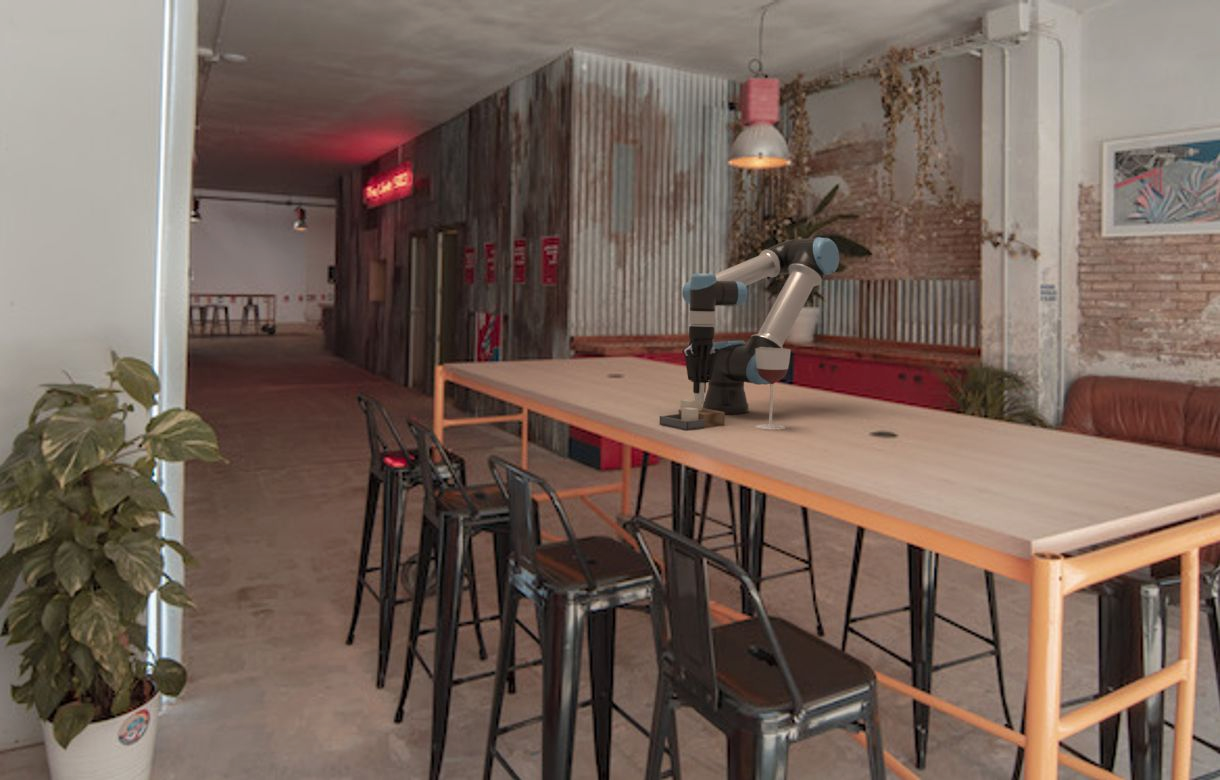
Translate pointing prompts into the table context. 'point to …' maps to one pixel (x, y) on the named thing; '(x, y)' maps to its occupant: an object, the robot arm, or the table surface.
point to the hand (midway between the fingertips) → (698, 403)
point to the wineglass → (772, 373)
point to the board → (710, 417)
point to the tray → (681, 422)
